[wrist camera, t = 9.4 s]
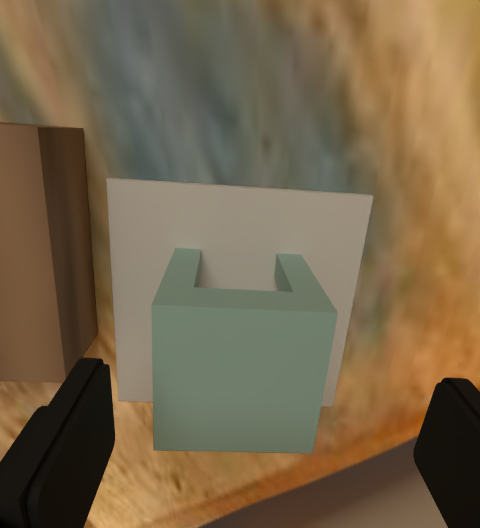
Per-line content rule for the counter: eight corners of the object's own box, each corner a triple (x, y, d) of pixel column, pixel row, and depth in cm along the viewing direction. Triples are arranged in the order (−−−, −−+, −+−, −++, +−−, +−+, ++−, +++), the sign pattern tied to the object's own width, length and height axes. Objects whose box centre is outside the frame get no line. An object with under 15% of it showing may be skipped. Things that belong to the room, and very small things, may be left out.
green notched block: (301, 254, 17) (338, 312, 12) (287, 360, 19) (312, 453, 14) (175, 247, 17) (151, 304, 11) (174, 356, 19) (153, 450, 13)
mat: (370, 194, 17) (373, 196, 17) (330, 401, 21) (332, 406, 21) (109, 177, 16) (106, 178, 16) (120, 396, 20) (118, 400, 20)
